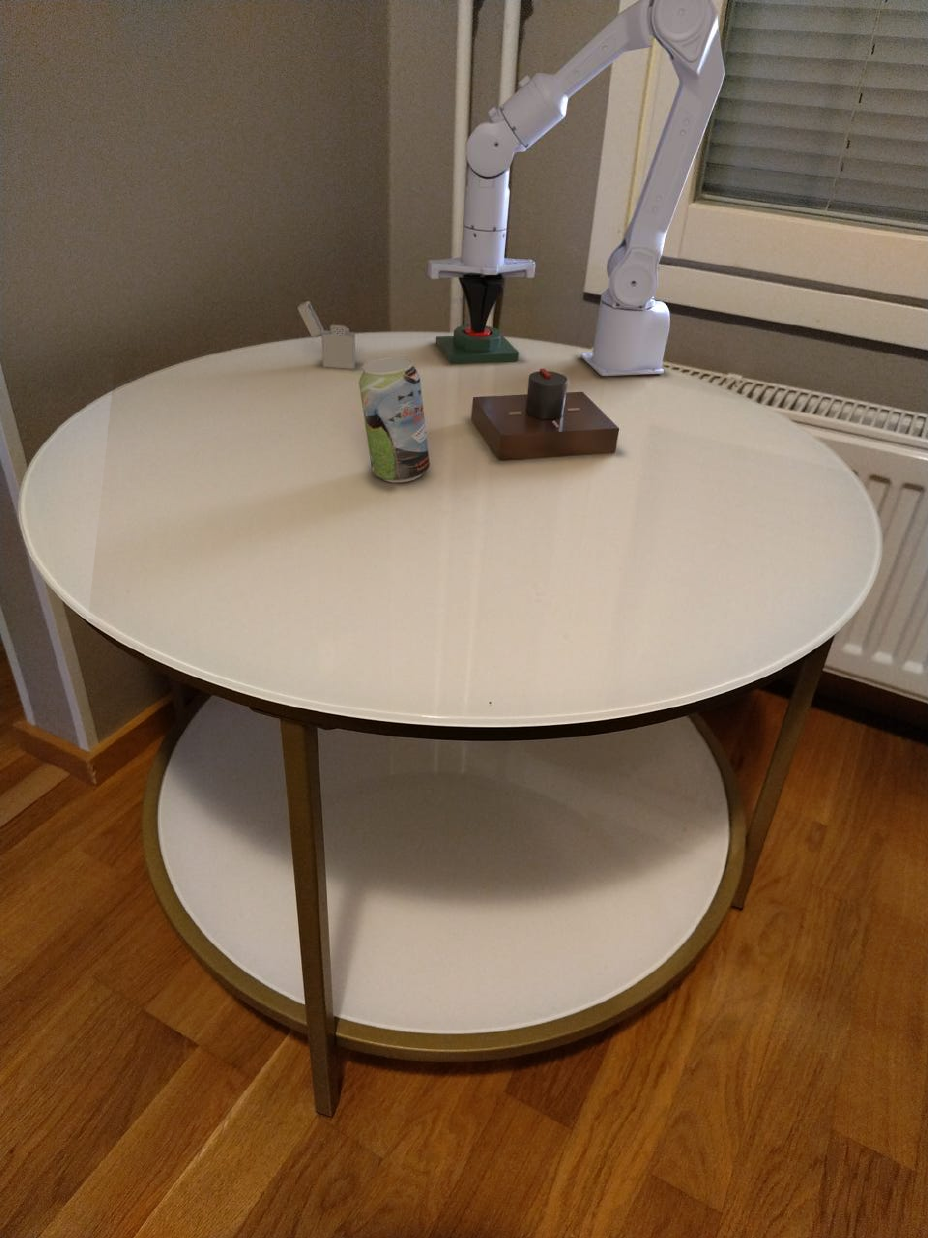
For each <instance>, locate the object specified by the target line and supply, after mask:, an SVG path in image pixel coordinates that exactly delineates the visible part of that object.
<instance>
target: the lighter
mask: <svg viewBox="0 0 928 1238" xmlns="http://www.w3.org/2000/svg"><path fill="white" fill-rule="evenodd" d="M297 310H298V312H299V314H300V316H301V318H302V320H303V322H304V324H305V326H306V328H307V330H308V332H309V334H310V335H311V338H315V337H319V336H320V335H321V353H322V354H321V355H322V367H324V368H333V369H334V368H335V369H336V368H337V369H350V370H353V369H355V366H356V334H355V332H351V331H350V330H349V328H348V327H347V326H346V325H344V324H333V323H332V324H331V325H330V326H329V330H325V329H324V327H323V326H322V324H321V321H320V319H319V317H318V315H317V313H316V311H315V310H314V307H313V306H312V303H311V302H310V301H309V300H307V301H305V302H302V303H300V304H299V305H298V306H297Z"/></svg>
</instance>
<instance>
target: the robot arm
mask: <svg viewBox="0 0 928 1238" xmlns="http://www.w3.org/2000/svg"><path fill="white" fill-rule="evenodd" d="M720 35H721V34H720V29H719V11H718V9H717V7H716V5H715V4H714V2H713V0H637V1H636V2H634V3H633V4H631V5H630V6H628V7H627V8H625V9H623V10H622V11H621V12H620V13H618V14H617V15H616V16H615V17H614V18H613V19H612V20H611V21H609V22H608V23H607V24H606V25H605V26H604V27H603V28H602V29H600V31H599V32H598V33H597V34H595V35H594V36H593V37H592V38H591V39H589V41H588V42H587V43H586V44H585V45H583V47H581V49H580V50H578V51H577V52H576V53H575V54H574V55H573V56H572V57H571V58H570V59H568V61H567V62H565V64H564V65H562V66H561V67H560V68H559V69H558V70H557V71H556V72H555V73H552V74H551V73H545V72H536V74H535V75H534V76H532V77H531V78H530V76H529V75H527V74H526V75H525V76H524V78H522V79H521V80H520V81H519V83H518V86H519V87H520V88H519V89H518V90H517V91H515V93H513V94H512V95H511V96H510V97H509V98H508V99H507V100H505V101H504V103H502V104H501V105H500V106H499V107H498V108H497V107H496V106H493V107H492V108H491V109H489V110H488V111H487V112H488V113H487V114H488V116H489V117H490V119H489V120H485V121H483V122H481V123H480V124H478V125H477V126H476V127H475V128H474V130H473V131H472V132H471V134H470V135H469V137H468V138H467V142H466V146H465V157H466V161H467V164H468V167H467V171H466V182H467V183H466V185H465V187H464V203H463V204H464V207H463V220H462V221H463V223H462V224H463V225H462V240H461V242H462V243H461V257H453V258H445V259H428V261H427V276H428V277H429V278H430V279H431V280H439V279H440V278H441V279H442V278H443V279H444V278H448V279H449V278H458V281H459V284H460V286H461V288H462V291H463V294H464V297H465V300H466V305H467V309H468V314H469V319H470V320H469V321H470V324H471V329H472V330H473V331H474V332H475V333H484V331H485V327H486V326H487V324H488V320H489V317H490V316H491V315H490V314H491V312H492V309H493V308H494V306H495V304H496V301H497V300H498V298H499V297H500V295H501V294H502V292H503V290H504V287H505V281H504V280H503V278H517V277H518V278H522V277H523V278H524V277H525V278H527V279H534V278H535V273H536V262H535V261H533V260H532V259H522V258H521V259H518V258H509V257H507V258H506V257H505V249H506V242H507V241H506V239H507V230H508V216H509V205H510V193H511V192H510V191H511V190H510V188H509V182H510V181H509V180H510V169H511V168H510V166H512V163H513V159H514V156H515V154H516V153H519V152H522V153H523V152H526V151H527V149H529V148H530V147H531V146H532V145H533V144H535V143H537V141H538V140H540V139H541V138H542V137H543V136H544V135H545V134H547V132H549V131H550V130H551V129H552V128H554V126H556V125H557V124H558V123H559V122H561V121H562V120H563V119H564V118H565V117H566V114H567V110H568V109H567V108H568V101H569V99H570V98H571V97H572V96H573V95H575V94H576V92H578V91H579V90H580V89H582V88H583V87H584V86H585V85H587V84H588V83H589V82H590V81H592V80H593V79H594V78H595V77H596V76H597V75H599V74H601V72H602V71H604V70H605V69H606V68H607V67H609V66H610V65H612V63H613V62H615V61H616V60H617V59H619V58H620V57H621V56H622V55H623V54H625V53H626V52H630V51H631V52H632V51H637V50H641V49H646V48H647V49H649V48H652V47H653V43H652V39H651V36H652V37H653V38H654V39H655V40H656V41H657V43H658V44H659V45H660V46H661V47H662V48H663V49H664V50H665V51H666V53H667V54H668V55H669V60H670V63H671V65H672V67H673V69H674V71H675V74H676V76H677V79H678V82H679V83H678V87H677V90H676V92H675V95H674V97H673V101H672V104H671V106H670V110H669V112H668V115H667V118H666V121H665V124H664V126H663V130H662V132H661V135H660V138H659V141H658V143H657V147H656V150H655V152H654V155H653V158H652V161H651V164H650V166H649V170H648V171H647V175H646V178H645V181H644V184H643V187H642V190H641V193H640V195H639V198H638V201H637V204H636V207H635V209H634V213H633V215H632V218H631V219H630V222H629V224H628V226H627V228H626V230H625V232H624V234H623V237H622V240H621V242H620V243H619V244H618V245H617V246H616V247H615V248H614V249H613V251H612V252H611V253H610V255H609V257H608V259H607V263H606V273H607V276H608V288H607V289H606V290H604V292H602V293H601V294H600V301H599V308H598V315H597V320H596V327H595V334H594V339H593V340H594V341H593V348H592V352H586V353H581V354H580V358H581V359H582V360H583V361H585V362H586V363H587V364H588V365H589V366H590V367H591V368H592V369H593V370H594V371H595V372H597V373H598V374H599V375H600V376H601V377H614V376H615V377H616V376H637V375H662V374H664V371H665V370H664V369H663V368H662V367H663V361H664V358H665V352H666V347H667V344H668V343H667V342H668V336H669V332H670V324H671V319H670V318H671V316H670V310H669V308H668V306H667V305H666V303H665V302H663V301H661V300H655V297H654V295H655V294H656V292H657V290H658V286H659V271H658V270H659V264H660V261H661V258H662V256H663V251H664V246H665V240H666V236H667V232H668V230H669V227H670V224H671V222H672V219H673V216H674V214H675V211H676V208H677V205H678V203H679V201H680V198H681V195H682V192H683V189H684V187H685V184H686V182H687V179H688V177H689V174H690V171H691V169H692V166H693V163H694V160H695V158H696V155H697V152H698V149H699V147H700V144H701V143H702V139H703V137H704V134H705V130H706V128H707V126H708V123H709V120H710V117H711V115H712V112H713V110H714V107H715V104H716V102H717V99H718V96H719V94H720V92H721V89H722V86H723V83H724V78H725V75H726V73H725V64H724V56H723V55H724V54H723V49H722V42H721V36H720Z"/></svg>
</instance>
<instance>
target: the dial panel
mask: <svg viewBox="0 0 928 1238" xmlns="http://www.w3.org/2000/svg"><path fill="white" fill-rule="evenodd" d="M526 399H527V393H526V394H525V393H524V394H507V395H487V396H485V395H484V396H472V404H471V417H470V419H471V420H470V421H471V423H472V424H473V425H474V427H475V428H476V430H477V431H478V433H479V434H480V436H481V438H483V440H484V441H485V443H486V444H487V446H488V447H489V449H490V450H491V451H492V453H493V454H494V456H495V457H496V459H497V461H500V462H501V461H503V462H504V461H515V460H528V459H529V460H530V459H544V458H557V457H559V458H560V457H573V456H585V455H598V454H599V455H601V454H602V455H603V454H615V453H616V449H617V444H618V439H619V433H620V427H619V426H617V424H615V423H614V422H613V420H612V419H611V418H609V416H607V414H606V413H604V411H603V410H602V409H601V408H600V407H598V406H597V404H595V402H594V401H593V400H591V398H589V397H588V396H587V394H585V392H584V391H566V399H565V406H564V413H563V415H562V416H561V417H559V418H556V419H540V418H536V417H533V416H531V415H529V414H527V412H526V410H525V408H526Z"/></svg>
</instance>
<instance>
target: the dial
mask: <svg viewBox="0 0 928 1238" xmlns="http://www.w3.org/2000/svg"><path fill="white" fill-rule="evenodd" d="M568 383H569V378H568V377H567V376H566V375H564V374H562V373H559V372H556V371H550V370H547V369H546V368H539V370H538V371H534V372H531V373H530V374H528V381H527V390H526V394H527V399H526V408H525V410H526V412H527V414H529V415H531V416H533V417H536V418H540V419H556V418H559V417H561V416H562V415H563V413H564V406H565V399H566V392H568Z"/></svg>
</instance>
